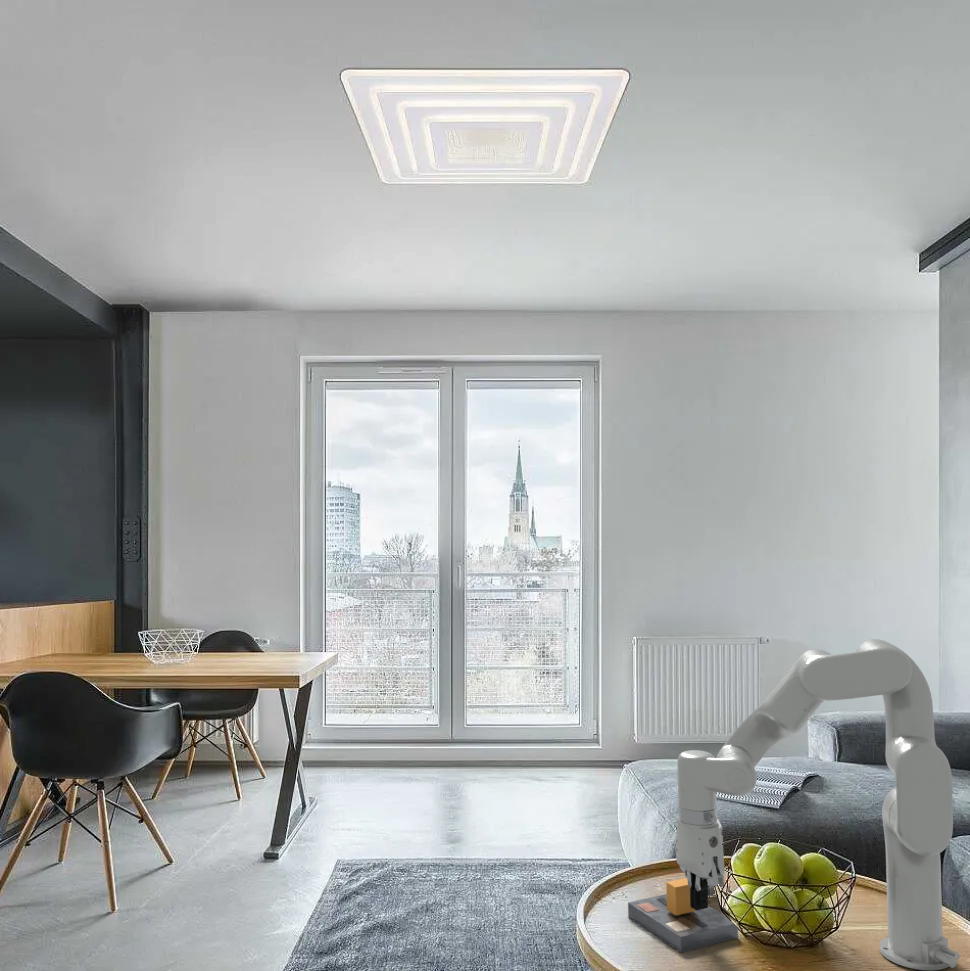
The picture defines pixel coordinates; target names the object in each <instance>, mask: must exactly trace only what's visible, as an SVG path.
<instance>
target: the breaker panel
mask: <svg viewBox="0 0 970 971" xmlns="http://www.w3.org/2000/svg"><path fill="white" fill-rule="evenodd" d="M627 910H628V912H627V913H628V914H627V915H628V917H627V918H629V917H630V918H629V919H631V920H632V919H633V920H634V922H635V923H636V922H637V923H636V924H638V925H639V924H640V925H639V926H641V927H642V928H644V929H645V930H646V931H649V933H651V934H653V935H654V936H655V937H656V938H659V939H660V940H661V941H662V942H665V944H667V945H669V946H670V947H672V948H673V949H675V950H676V951H677V952H678V953H681V954H682V953H685V952H689V951H693V950H697V949H701V948H705V947H708V946H709V947H710V946H712V945H716V944H721V943H724V942H727V941H728V942H729V941H732V940H735V939H738V938H739V926H738V927H737V926H736V925H735V924H734V923H733V922H732V921H730V920H729V919H728V918H727V917H728V916H727V915H726V914H723V913H722V912H720V911H718V910H717V909H715V908H713V907H711V906H709V905H708V908H705V909H701V910H696V911H693V912H689V913H685V914H680V915H674V914H673V913H671V912H669V911H668V910H667V893H665V894H661V895H656V896H651V897H647V898H642V899H638V900H634V901H630V902H629V901H628V902H627ZM726 916H727V917H726ZM633 920H632V921H633Z"/></svg>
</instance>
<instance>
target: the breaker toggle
mask: <svg viewBox="0 0 970 971" xmlns="http://www.w3.org/2000/svg"><path fill="white" fill-rule="evenodd" d="M665 883H666V894H667V910H668V911H669V912H671V913H673V914H674V915H680V914H685V913H689V912H693V911H696V910H695V909H694V908H691V907H690V886H689V885H688V880H687V878H685V877H684V878H679V879H676V880H671V881H667V882H665Z"/></svg>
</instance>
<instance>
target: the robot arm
mask: <svg viewBox="0 0 970 971" xmlns="http://www.w3.org/2000/svg"><path fill="white" fill-rule="evenodd" d="M876 696H882V699H883V704H884V716H885V752H884V753H885V762H886V765H887V767H888V769H889V770H890V772H891V773H892V774H893V775H894V777H895V786H894V788H892V789H890V790H889V792H888V793H887V794H886V796H885V798H884V800H883V803H882V809H881V813H882V817H881V818H882V827H883V833H884V835H883V836H884V843H885V845H884V846H885V863H886V864H885V866H886V868H885V872H886V904H887V905H886V909H887V910H886V911H887V912H886V913H887V915H886V916H887V936H886V937H884V938H883V939H881V940H880V941H879V951H880V953H881V954H882V956H883V957H885V958H886V960H888V961H889V962H890V961H891V962H892V963H894V964H897V965H899V966H902V967H905V968H909V969H912V970H919V971H940V970H945V969H947V968H949V967H950V968H951V969H954V968H956V966H957V964H958V961H959V959H960V953H959V952H956V951H954V950H952V949H949V940H948V938H947V937H944V936H943V935H944V934H943V933H944V932H943V908H942V907H943V906H942V905H943V904H942V902H943V901H942V864H941V853H942V852H943V851H944V850H946V848H947V847H948V846H949V844H950V842H951V839H952V836H953V830H954V802H953V801H954V800H953V776H952V769H951V765H950V763H949V759H948V758H947V756H946V755H945V753H944V751H943V750H942V749H941V748H940V747H938V746H937V743H936V736H935V719H934V707H933V705H934V704H933V699H932V698H933V696H932V692H931V690H930V686H929V684H928V680H927V679H926V677H925V675H924V673H923V672H922V670H921V669H920V667H919V666H918V664H917V663H916V662H915V661H914V660H913V659H912V658H911V657H910V655H909V654H907V653H906V652H904V650H902V649H901V648H899V647H897V646H896V645H894V644H892V643H890V642H888V641H886V640H882V639H869V640H866V641H864V642H862V643H861V644H860V645H859V646H858V647H857V649H856V652H855V651H854V652H849V653H848V652H847V653H836V654H831V653H830V652H828V651H825V650H824V649H819V648H817V649H816V648H814V649H808V650H807V651H805V652H804V653H803V654H801V655H800V656H799V657H798V659H796V661H795V662H794V663H793V664H792V666H791V667H790V669H789V670H787V672H786V673H785V674H784V675H783V676H782V678H781V680H780V681H778V683H777V684H776V686H775V687H774V688H773V689H772V690H771V692H770V693H769V694H768V695H767V697H766V698H765V699H764V700H763V702H762V703H761V704H759V705H758V706H757V707H756V708H755V709H754V711H752V713H750V715H749V716H748V717H746V718H745V720H744V721H742V723H740V725H738V727H737V728H736V729H735V730H734V732H733V733H732V734H731V736H730V737H729V738H728V739H727V741H726V742H725V743H724V744H723V745H722V747H721V749H719V751H718V753H717V755H716V757H715V755H713V754H712V753H710V752H708V751H706V750H698V749H693V750H692V749H691V750H690V749H689V750H685V751H682V752H681V753H679V754H678V757H677V803H678V805H677V807H678V808H677V809H678V811H677V812H678V814H677V815H678V817H677V825H676V834H675V835H676V836H675V859H676V863H677V864H678V865H679V868H680V870H681V871H682V872H683V873H684V875H685V874H686V876H687V880H688V885H689V886H690V907H691V908H694V909H695V910H701V909H705V908H708V906H709V897H708V889H709V888H710V886H717V885H718V884H719V883H718V877H717V875H719V876H722V875H724V874H725V858H724V844H723V845H722V838H721V832H720V828H719V825H717V817H718V816H717V815H718V813H717V812H718V811H717V809H718V808H717V807H718V806H717V793H719V794H725V795H730V796H736V797H742V796H746V795H748V794H750V793H751V792H752V791H753V790H754V789H755V787H756V785H757V782H758V781H757V780H758V779H757V777H758V775H757V772H756V769H755V768H756V766H757V765H758V764H759V763H760V761H762V759H763V758H764V756H765V755H766V754H767V753H768V751H770V750H771V749H772V748H773V747H774V746H775V745H776V744H777V743H779V742H780V741H781V740H784V739H786V738H790V737H792V736H794V735H796V734H797V733H799V732H800V730H801V729H802V728H803V727H804V726H805V724H807V722H808V721H809V720H810V718H811V717H812V715H813V714H814V713H815V712H816V711H817V710H818V708H819V707H821V705H822V704H823V703H824V702H825V701H827V702H828V701H830V702H831V701H841V700H842V701H844V700H853V699H860V698H868V697H876ZM702 879H703V880H702Z"/></svg>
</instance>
